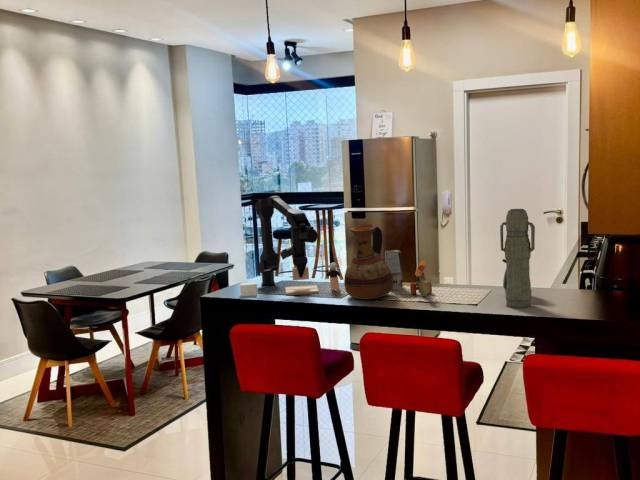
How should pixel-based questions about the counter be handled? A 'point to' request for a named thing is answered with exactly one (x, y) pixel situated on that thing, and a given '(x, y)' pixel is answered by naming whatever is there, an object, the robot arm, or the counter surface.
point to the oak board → (301, 290)
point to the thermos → (518, 258)
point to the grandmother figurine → (334, 277)
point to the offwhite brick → (248, 289)
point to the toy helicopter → (421, 281)
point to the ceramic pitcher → (368, 266)
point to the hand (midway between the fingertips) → (300, 276)
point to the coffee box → (395, 267)
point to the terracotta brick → (296, 274)
